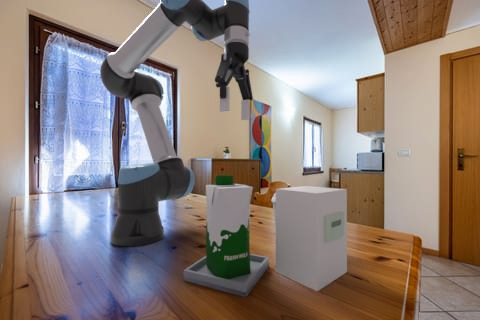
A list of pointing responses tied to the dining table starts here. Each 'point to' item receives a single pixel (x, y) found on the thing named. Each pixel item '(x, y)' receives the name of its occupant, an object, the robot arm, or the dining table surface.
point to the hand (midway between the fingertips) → (235, 115)
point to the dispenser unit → (311, 234)
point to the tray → (236, 285)
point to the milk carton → (228, 227)
